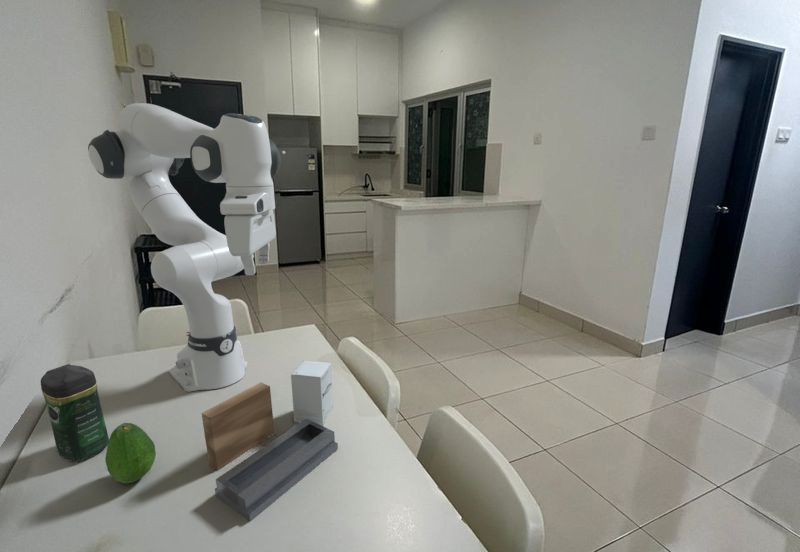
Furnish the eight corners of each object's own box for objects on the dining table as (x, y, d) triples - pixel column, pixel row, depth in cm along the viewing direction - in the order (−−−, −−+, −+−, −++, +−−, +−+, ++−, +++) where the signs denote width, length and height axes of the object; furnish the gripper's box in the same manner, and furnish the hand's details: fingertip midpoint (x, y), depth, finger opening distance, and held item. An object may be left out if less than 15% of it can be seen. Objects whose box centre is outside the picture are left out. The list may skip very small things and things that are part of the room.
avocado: (108, 499, 75) (95, 442, 72) (113, 471, 82) (102, 418, 78) (158, 484, 78) (148, 429, 75) (160, 458, 85) (150, 407, 82)
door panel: (209, 464, 83) (201, 413, 80) (265, 429, 95) (261, 382, 91) (217, 470, 82) (210, 418, 79) (274, 433, 93) (269, 386, 90)
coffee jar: (117, 445, 89) (100, 367, 84) (74, 468, 82) (53, 385, 77) (93, 431, 94) (76, 357, 89) (52, 452, 87) (30, 372, 82)
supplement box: (323, 426, 95) (320, 377, 92) (293, 422, 97) (289, 374, 94) (334, 408, 102) (332, 362, 99) (306, 405, 104) (303, 359, 100)
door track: (215, 495, 76) (213, 477, 75) (304, 432, 93) (303, 417, 92) (250, 521, 70) (248, 502, 69) (337, 449, 88) (337, 433, 87)
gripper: (251, 196, 92) (257, 257, 95) (215, 206, 72) (224, 282, 75) (280, 196, 92) (284, 257, 95) (252, 205, 72) (259, 281, 76)
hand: (257, 268), depth 85 cm, fingers open, 8 cm apart
